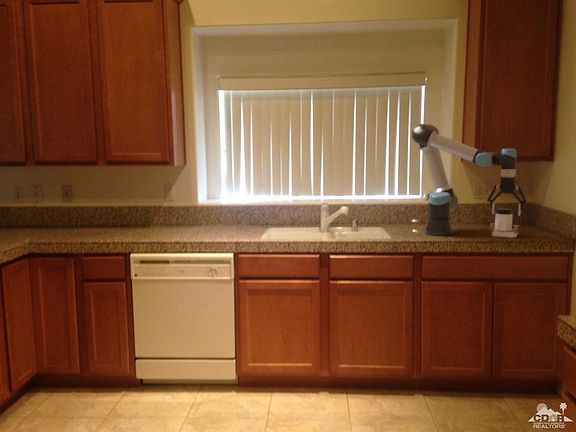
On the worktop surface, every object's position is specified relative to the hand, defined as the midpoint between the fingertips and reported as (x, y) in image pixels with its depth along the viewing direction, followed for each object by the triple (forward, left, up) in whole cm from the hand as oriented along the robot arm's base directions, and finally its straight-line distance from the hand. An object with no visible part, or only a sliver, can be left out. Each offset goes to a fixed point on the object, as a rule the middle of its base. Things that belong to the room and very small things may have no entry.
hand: (506, 214), depth 282 cm
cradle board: (0, +1, -11) cm, 12 cm away
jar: (-1, 0, -9) cm, 9 cm away
